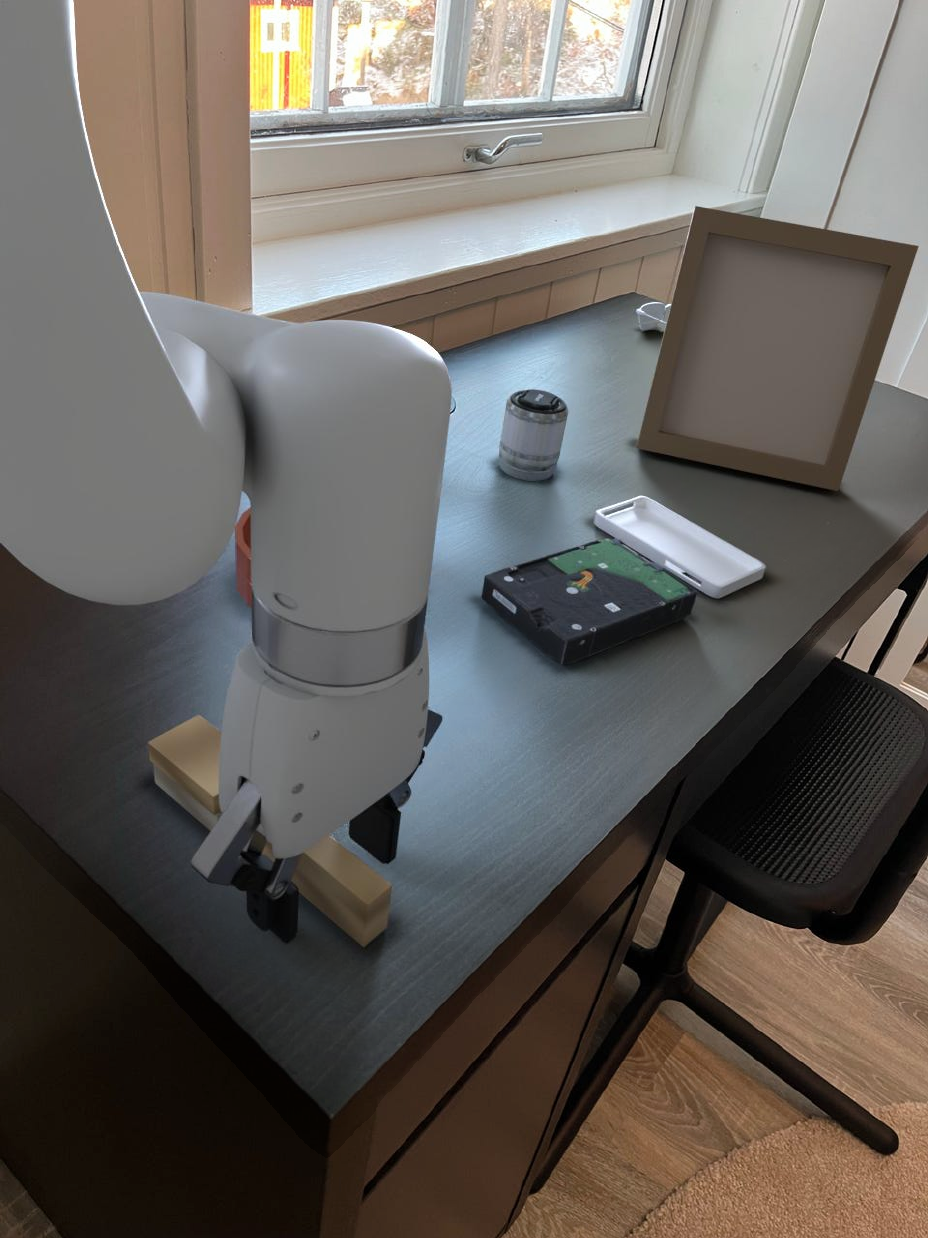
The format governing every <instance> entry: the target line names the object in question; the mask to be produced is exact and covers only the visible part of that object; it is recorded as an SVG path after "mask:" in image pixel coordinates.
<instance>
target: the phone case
mask: <svg viewBox="0 0 928 1238" xmlns="http://www.w3.org/2000/svg"><path fill="white" fill-rule="evenodd" d="M629 504H633V505H632V506H630V507H626V508H624V509H621V510H618V511H615V512H612V513H610V514H606V515H605V513H606V512H608V511H612V510H615V509H617V508H621V507H624V506H626V505H629ZM593 524H594V525H595V527H597V528H598V529H600V530H602V531H603V532H605V533H606V534H608V535H610V536H611V537H613V538H614V539H615V538H618V539H619V540H622V541H621V542H620V543H623V545H625V546H627V547H628V548H630V549H631V550H633V551H635V552H636V553H638V554H640V555H641V556H643V557H644V558H647V559H649V561H651V562H653V561H654V562H655V563H657V564H658V565H660V566H662V567H663V568H664V570H666V571H668V572H669V573H671V574H672V575H674V576H675V577H677V578H678V579H680V580H682V581H683V582H685V583H686V584H688V585H690V586H691V587H693V588H694V589H697V590H698V591H700V592H702V593H703V594H705V595H707V596H708V597H711V598H714V599H720V598H723V597H725V596H728V595H730V594H732V593H734V592H736V591H738V590H741V589H742V588H744V587H746V586H749V585H751V584H754V583H755V582H757V581H760V580H762V579H763V577H764V574H765V571H766V568H767V565H765V563H764V562H762V561H761V560H759V559H757V558H756V557H754V556H752V555H750V554H749V553H747V552H745V551H743V550H742V549H740V548H738V547H736V546H735V545H733V544H731V543H730V542H728V541H726V540H724V539H723V538H720V537H718V536H717V535H716V534H713V533H712V532H710V531H708V530H706V529H705V528H703V527H701V526H699V525H698V524H696V523H694V522H692V521H691V520H689V519H687V518H685V517H684V516H682V515H680V514H679V513H677V512H675V511H673V510H671V509H670V508H668V507H666V506H664V505H663V504H661V503H659V502H657V501H656V500H655V499H652V498H650V497H648V496H644V495H639V496H636V497H633V498H631V499H628V500H625V501H621V502H618V503H616V504H613V505H609V506H606V507H603V508H601V509H597V510H596V511H595V515H594V520H593ZM685 573H687V574H688V575H689V576H691V577H694V578H695V579H696V580H697V581H699V582H701V583H699V582H697V581H696V580H694V579H692V578H691V577H689V576H687V575H686V574H685Z"/></svg>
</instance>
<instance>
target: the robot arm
mask: <svg viewBox="0 0 928 1238" xmlns="http://www.w3.org/2000/svg"><path fill="white" fill-rule="evenodd" d="M75 25H76V24H75V6H74V0H0V544H1V545H2V546H3V547H4V548H5V549H6V550H7V551H8V552H9V553H10V554H11V555H12V556H13V557H14V558H15V559H16V560H18V562H19V563H21V565H23V566H24V567H25V568H27V569H28V570H30V571H31V572H32V573H34V574H35V575H36V576H37V577H39V578H41V579H42V580H43V581H45V582H46V583H48V584H50V585H52V586H54V587H56V588H57V589H60V590H61V591H62V592H63V591H64V593H67V594H69V595H73V596H75V597H78V598H81V599H84V600H87V601H89V602H95V603H99V604H107V605H112V606H113V605H114V606H141V605H145V604H150V603H154V602H160V601H163V600H165V599H168V598H170V597H172V596H174V595H177V594H179V593H182V592H183V591H185V590H187V589H188V588H190V587H191V586H193V585H194V584H196V583H197V582H199V581H200V580H201V579H202V578H204V576H205V575H206V574H207V573H208V572H209V571H210V570H211V569H212V568H213V567H214V566H215V565H216V563H217V562H218V561H219V560H220V558H221V556H222V554H223V553H224V551H225V550H226V548H227V547H228V545H229V543H230V541H231V538H232V537H233V533H234V532H235V526H236V524H237V522H238V521H237V520H238V515H239V512H240V506H241V500H242V499H241V498H242V492H243V493H244V494H245V495H246V496H247V498H248V500H249V505H250V507H251V581H252V608H251V643H249V644H247V645H246V646H245V647H243V648H242V649H240V650H239V651H238V653H237V654H236V658H235V661H234V665H233V668H232V671H231V674H230V678H229V683H228V687H227V692H226V696H225V701H224V702H225V703H224V707H223V708H224V709H223V714H222V721H221V722H222V725H221V731H220V732H221V743H220V756H219V805H220V810H221V812H222V813H223V814H222V816H221V817H220V819H219V820H218V822H217V823H216V825H215V826H214V827H213V829H212V830H211V831H209V833H208V835H207V836H206V837H205V839H204V840H203V842H202V843H201V845H200V846H199V847H198V849H197V851H196V852H195V853H194V855H193V857H192V859H191V860H190V867H191V868H192V869H193V870H194V871H195V872H196V873H198V874H199V875H200V876H201V877H202V878H203V879H204V880H205V881H206V882H208V883H209V884H214V885H218V886H222V887H223V886H224V887H230V886H231V887H235V888H236V889H237V890H238V891H240V892H246V894H245V897H246V914H247V915H248V917H249V918H248V919H250V921H251V922H252V923H253V924H254V925H255V926H256V927H257V928H258V929H259V930H261V931H263V932H267V931H268V930H269V931H271V932H272V934H274V935H275V936H276V937H277V938H278V939H279V940H280V941H281V942H282V943H284V944H285V945H288V944H290V943H291V942H292V941H293V940H294V939H296V938H297V934H298V930H299V903H300V902H299V901H300V900H299V897H300V893H299V890H298V887H297V886H296V885H295V884H294V883H293V882H292V881H291V880H292V877H293V875H294V872H295V870H296V868H297V865H298V863H299V860H300V858H301V855H302V853H303V852H305V851H307V850H308V849H310V848H312V847H313V846H315V845H316V844H318V843H319V842H320V841H322V840H323V839H325V838H326V837H328V836H329V835H330V836H331V835H332V834H333V833H335V832H336V831H338V830H339V829H340V828H342V827H343V826H345V825H346V824H347V823H348V837H349V838H350V839H351V840H352V842H354V843H355V844H357V845H358V846H359V847H361V848H362V849H363V850H365V851H366V852H367V853H369V854H370V855H371V857H373V858H375V859H376V860H378V862H380V863H381V864H383V865H385V864H386V865H389V864H390V863H392V862H393V861H394V860H396V858H397V851H398V843H399V834H400V827H401V819H402V811H401V810H400V808H402V807H404V806H405V805H406V804H407V802H408V801H409V800H410V798H411V795H412V788H411V787H410V784H409V783H410V781H411V780H412V778H413V777H414V775H415V773H416V772H417V771H418V769H419V767H420V766H421V765H422V764H423V762H424V761H423V760H424V759H425V757H426V752H425V751H426V750H424V748H427V747H428V746H429V744H430V742H431V741H432V739H433V738H434V736H435V734H436V733H437V731H438V729H439V728H440V726H441V724H442V722H443V716H442V714H440V713H439V712H437V711H436V710H435V709H433V708H431V707H430V706H429V700H430V699H429V697H430V656H429V655H430V654H429V643H428V636H427V635H428V634H427V628H426V626H425V624H426V618H427V610H428V602H429V601H428V600H429V593H430V584H431V577H432V576H431V575H432V569H433V560H434V551H435V544H436V535H437V529H438V519H439V511H440V504H441V503H440V502H441V494H442V485H443V478H444V477H443V476H444V468H445V460H446V453H447V444H448V435H449V428H450V420H451V419H450V418H451V410H452V397H453V389H452V388H453V387H452V379H451V377H450V372H449V370H448V367H447V364H446V363H445V361H444V359H443V358H442V356H441V354H440V353H439V352H438V351H436V350H435V348H433V347H432V346H431V345H430V344H428V342H426V341H425V340H423V339H421V338H420V337H418V336H416V335H413V334H412V333H409V332H406V331H403V330H400V329H397V328H394V327H391V326H387V325H384V324H379V323H373V322H368V321H359V320H352V319H351V320H350V319H349V320H348V319H327V320H314V321H305V322H302V323H296V322H292V321H288V320H281V319H276V318H270V317H266V316H262V315H258V314H253V313H249V312H244V311H241V310H237V309H232V308H229V307H224V306H220V305H217V304H213V303H209V302H205V301H201V300H196V299H192V298H188V297H183V296H180V295H179V296H178V295H174V294H169V293H160V292H154V291H153V292H152V291H139V290H138V287H137V285H136V282H135V279H134V278H133V275H132V273H131V270H130V268H129V265H128V263H127V259H126V258H125V255H124V252H123V250H122V248H121V245H120V243H119V239H118V236H117V234H116V231H115V228H114V225H113V222H112V220H111V217H110V213H109V209H108V208H107V205H106V201H105V198H104V194H103V191H102V187H101V185H100V180H99V177H98V174H97V171H96V168H95V164H94V159H93V155H92V151H91V147H90V143H89V138H88V134H87V130H86V125H85V120H84V114H83V108H82V103H81V96H80V87H79V78H78V77H79V76H78V69H77V51H76V50H77V49H76V27H75ZM267 841H268V842H269V843H271V844H272V852H273V855H274V857H276V859H275V861H274V862H273V861H272V860H271V859H270V858H269V857H267V856H266V855H264V854H262V852H263V849H264V847H265V844H266V842H267Z"/></svg>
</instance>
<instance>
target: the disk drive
mask: <svg viewBox="0 0 928 1238" xmlns="http://www.w3.org/2000/svg"><path fill="white" fill-rule="evenodd" d="M621 541H622V540H619V539H618V538H615V537H614V538H612V539H610V537H609V538H608V537H607V538H604V539H602V540H598V539H596V540H593V541H589V542H587V543H584V544H582V545H577V546H575V547H571V548H567V549H565V550H561V551H558V552H555V553H550V554H548V555H545V556H542V557H539V558H535V559H531V560H528V561H526V562H522V563H518V564H515V565H513V566H508V567H504V568H502V569H498V570H496V571H492V572H491V573H488V574H485V575H484V580H483V585H482V593H481V597H480V598H481V600H482V601H483V602H485V603H486V604H487V605H488V606H489V607H490V608H491V609H492V610H493V611H494V612H495V613H496V614H498V615H499V616H500V617H501V618H503V619H504V620H505V621H506V622H508V623H509V624H510V625H511V626H512V627H513V628H515V629H516V630H517V631H518V632H519V633H521V634H522V635H523V636H524V637H525V638H527V639H528V640H529V641H530V642H532V643H533V644H534V645H535V646H536V647H538V648H539V650H541V651H542V652H543V653H544V654H546V655H547V656H548V657H549V658H552V659H553V660H554V661H555V662H557V663H558V664H559V665H561V666H565V665H566V664H567V665H568V664H573V663H575V662H578V661H580V660H583V659H585V658H587V657H590V656H593V655H596V654H598V653H600V652H603V651H605V650H608V649H610V648H613V647H615V646H618V645H621V644H623V643H626V642H628V641H630V640H631V639H635V638H636V637H641V636H643V635H646V634H648V633H651V632H653V631H656V630H658V629H660V628H663V627H666V626H669V625H671V624H673V623H675V622H678V621H680V620H682V619H684V618H686V617H688V616H691V615H692V611H693V608H694V606H695V602H696V599H697V596H698V591H697V590H696V588H694V587H693V586H691V585H690V584H688V583H687V582H685V581H684V580H682V579H681V578H679V577H678V576H676V575H674V574H673V573H671V572H670V571H668V570H666V569H665V568H663V567H662V566H660V565H658V564H657V563H655V562H654V561H650V560H648V559H646V557H644V555H641V554H640V553H638V552H637V551H635V550H634V549H632V548H631V547H629V546H628V545H626V544H622V542H621Z"/></svg>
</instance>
